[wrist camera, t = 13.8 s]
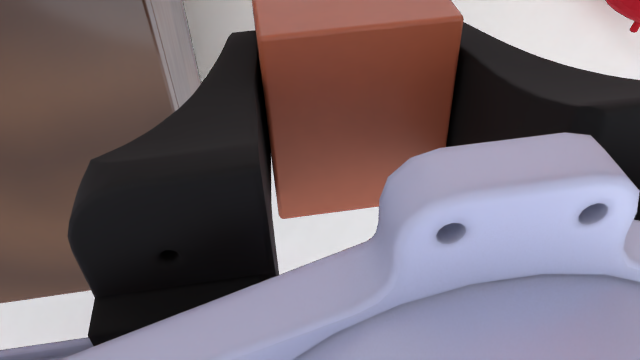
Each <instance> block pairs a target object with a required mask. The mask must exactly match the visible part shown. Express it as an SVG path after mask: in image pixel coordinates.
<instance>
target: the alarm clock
mask: <svg viewBox="0 0 640 360" xmlns="http://www.w3.org/2000/svg"><path fill="white" fill-rule="evenodd" d="M605 1H606V2H607V3H608V5H609V6H611V7H612V8H613V9H614V10H615V11H617V12H618V13H620V14H622V15H623V16H625V17H627V18H629V19H631V20H634V23H633V25H632V26H631V28H630V31H631V32H634V33H635V32H637V31H638V29H639V27H640V0H605Z"/></svg>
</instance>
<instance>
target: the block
mask: <svg viewBox="0 0 640 360" xmlns="http://www.w3.org/2000/svg"><path fill="white" fill-rule="evenodd" d="M252 6H253V14H254V22H255V30H256V37H257V45H258V53H259V61H260V69H261V77H262V85H263V93H264V101H265V109H266V117H267V125H268V133H269V141H270V149H271V157H272V165H273V173H274V181H275V189H276V196H277V204H278V212H279V216H280V217H281V218H282V219H286V218H294V217H301V216H309V215H317V214H324V213H332V212H340V211H347V210H355V209H362V208H370V207H378V206H379V199H380V196H381V194H382V191H383V188H384V186H385V183H386V181H387V178H388V176H390V175H391V174H392V173H393V172H394V171H395V170H397V169H398V168H399V167H400V166H401V165H402V164H404V163H405V162H406V161H407V160H408V159H409V158H411V157H414V156H417V155H420V154H423V153H426V152H429V151H432V150H435V149H438V148H444V147H446V142H447V135H448V128H449V121H450V114H451V106H452V99H453V92H454V85H455V77H456V70H457V63H458V56H459V49H460V41H461V34H462V27H463V20H464V19H463V16H462V14H461V13H460V12H459V10H458V9H457V8H456V6H455V5H454V4H453V2H452V1H451V0H252Z"/></svg>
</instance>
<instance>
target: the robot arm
mask: <svg viewBox="0 0 640 360" xmlns="http://www.w3.org/2000/svg"><path fill="white" fill-rule="evenodd" d="M67 237H68V240H69V244H70V247H71V251H72V253H73V255H74V257H75V259H76V261H77V263H78V265H79V267H80V269H81V271H82V273H83V275H84V277H85V279H86V281H87V283H88V285H89V287H90V289H91V291H92V293H93V295H94V297H95V301H94V306H93V311H92V316H91V322H90V327H89V332H88V338H81V339H74V340H67V341H61V342H54V343H47V344H40V345H33V346H26V347H19V348H12V349H5V350H0V360H640V80H634V79H627V78H620V77H615V76H609V75H604V74H599V73H595V72H590V71H586V70H582V69H577V68H574V67H570V66H566V65H563V64H560V63H557V62H553V61H550V60H547V59H544V58H541V57H538V56H536V55H533V54H530V53H528V52H525V51H523V50H521V49H518V48H516V47H514V46H511V45H509V44H507V43H505V42H502V41H500V40H498V39H496V38H494V37H492V36H490V35H488V34H486V33H484V32H482V31H480V30H478V29H476V28H474V27H472V26H470V25H468V24H466V23H464V22H463V27H462V34H461V41H460V49H459V56H458V63H457V70H456V77H455V85H454V92H453V99H452V106H451V114H450V121H449V128H448V135H447V142H446V147H444V148H438V149H435V150H432V151H429V152H426V153H423V154H420V155H417V156H414V157H411V158H409V159H408V160H407V161H406V162H405V163H404V164H402V165H401V166H400V167H399V168H398V169H397V170H395V171H394V172H393V173H392V174H391V175H390V176H388V178H387V181H386V183H385V186H384V188H383V191H382V194H381V196H380V199H379V221H378V226H377V231H376V233H375V234H374V236H373V237H372V238H370V239H369V240H368V241H366V242H364V243H361V244H358V245H356V246H353V247H351V248H348V249H345V250H343V251H340V252H338V253H335V254H332V255H330V256H327V257H325V258H322V259H320V260H317V261H314V262H312V263H309V264H307V265H304V266H301V267H299V268H296V269H294V270H291V271H288V272H286V273H283V274H281V275H279V271H278V262H277V254H276V246H275V237H274V229H273V220H272V207H271V149H270V141H269V133H268V125H267V117H266V109H265V101H264V93H263V85H262V77H261V69H260V61H259V53H258V45H257V37H256V30H255V31H245V32H235V33H232V34H231V35H230V36H229V37H228V39H227V42H226V44H225V46H224V48H223V50H222V52H221V54H220V56H219V58H218V59H217V61H216V62H215V64H214V66H213V67H212V69H211V71H210V72H209V74H208V75H207V77H206V78H205V79H204V81H203V82H202V83H201V85H200V86H199V87H198V89H197V90H196V91H195V92H194V93H193V95H192V96H191V97H190V98H189V99H188V100H187V101H186V102H185V103H184V104H183V105H182V106H181V107H180V108H179V109H178V110H176V111H175V112H174V113H172V114H171V115H170V116H169V117H167V118H166V119H165V120H164V121H162V122H161V123H160V124H158V125H157V126H156V127H154V128H153V129H151V130H149V131H148V132H146V133H145V134H143V135H141V136H140V137H138V138H136V139H134V140H133V141H131V142H129V143H127V144H125V145H123V146H121V147H119V148H117V149H114V150H112V151H110V152H108V153H105V154H103V155H101V156H99V157H96V158H94V159H91V160H90V162H89V165H88V167H87V170H86V172H85V174H84V176H83V178H82V180H81V183H80V185H79V188H78V191H77V194H76V197H75V201H74V205H73V209H72V212H71V216H70V220H69V227H68V235H67Z"/></svg>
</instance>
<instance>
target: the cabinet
mask: <svg viewBox="0 0 640 360" xmlns="http://www.w3.org/2000/svg"><path fill="white" fill-rule="evenodd" d="M200 85H201V81H200V76H199V72H198V67H197V63H196V58H195V54H194V49H193V45H192V40H191V36H190V31H189V27H188V22H187V18H186V13H185V9H184V4H183V0H0V303H6V302H12V301H19V300H26V299H33V298H40V297H47V296H54V295H61V294H68V293H75V292H81V291H88V290H91V289H90V287H89V285H88V283H87V281H86V279H85V277H84V275H83V273H82V271H81V269H80V267H79V265H78V263H77V261H76V259H75V257H74V255H73V253H72V251H71V247H70V244H69V240H68V237H67V235H68V227H69V220H70V216H71V212H72V209H73V205H74V201H75V197H76V194H77V191H78V188H79V185H80V183H81V180H82V178H83V176H84V174H85V172H86V170H87V167H88V165H89V162H90V160H91V159H94V158H96V157H99V156H101V155H103V154H105V153H108V152H110V151H112V150H114V149H117V148H119V147H121V146H123V145H125V144H127V143H129V142H131V141H133V140H134V139H136V138H138V137H140V136H141V135H143V134H145V133H146V132H148V131H149V130H151V129H153V128H154V127H156V126H157V125H158V124H160V123H161V122H162V121H164V120H165V119H166V118H167V117H169V116H170V115H171V114H172V113H174V112H175V111H176V110H178V109H179V108H180V107H181V106H182V105H183V104H184V103H185V102H186V101H187V100H188V99H189V98H190V97H191V96H192V95H193V93H194V92H195V91H196V90H197V89H198V87H199V86H200Z"/></svg>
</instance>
